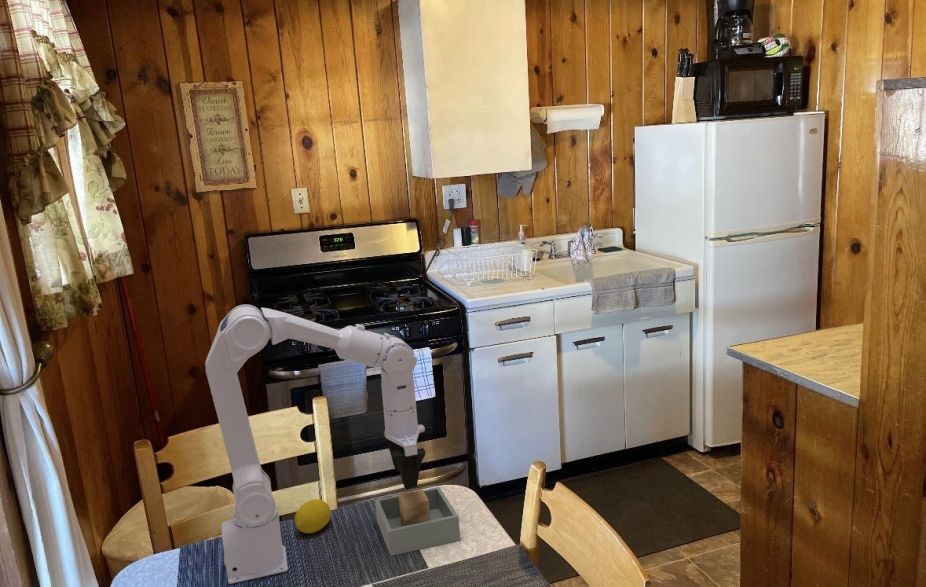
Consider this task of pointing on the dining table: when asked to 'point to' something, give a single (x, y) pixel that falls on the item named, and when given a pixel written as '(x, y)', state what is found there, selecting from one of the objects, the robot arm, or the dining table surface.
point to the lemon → (312, 516)
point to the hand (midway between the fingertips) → (406, 478)
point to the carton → (413, 508)
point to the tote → (421, 534)
